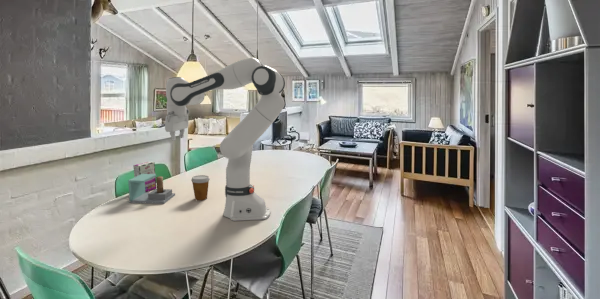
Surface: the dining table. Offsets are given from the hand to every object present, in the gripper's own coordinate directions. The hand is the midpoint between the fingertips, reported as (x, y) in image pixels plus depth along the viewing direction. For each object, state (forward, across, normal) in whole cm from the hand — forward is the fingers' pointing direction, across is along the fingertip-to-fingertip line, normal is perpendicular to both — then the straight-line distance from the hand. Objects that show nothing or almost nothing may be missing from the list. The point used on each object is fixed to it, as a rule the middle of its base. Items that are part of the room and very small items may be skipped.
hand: (177, 139), depth 159 cm
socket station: (+34, +8, +18) cm, 39 cm away
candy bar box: (+34, +22, +29) cm, 50 cm away
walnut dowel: (+33, +8, +14) cm, 37 cm away
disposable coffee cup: (+34, +11, -7) cm, 37 cm away
